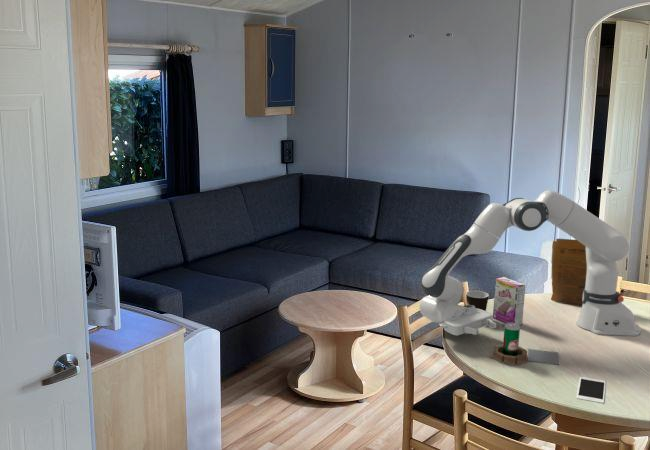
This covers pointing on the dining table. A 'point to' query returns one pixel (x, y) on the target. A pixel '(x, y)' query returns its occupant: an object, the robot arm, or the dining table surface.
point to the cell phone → (591, 390)
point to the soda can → (511, 339)
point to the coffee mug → (477, 299)
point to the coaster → (543, 356)
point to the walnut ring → (510, 359)
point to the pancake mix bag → (568, 271)
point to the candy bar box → (508, 301)
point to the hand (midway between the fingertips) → (486, 329)
